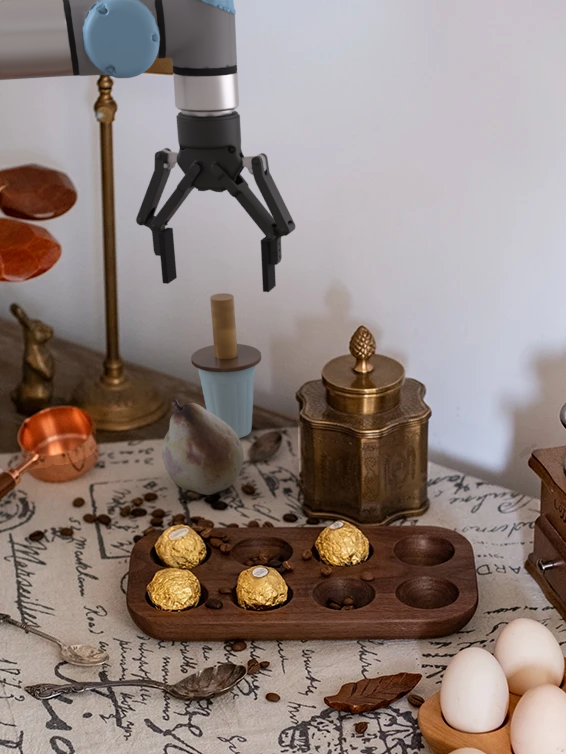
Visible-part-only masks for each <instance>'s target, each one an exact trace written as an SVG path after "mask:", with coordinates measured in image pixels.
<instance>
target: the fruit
mask: <svg viewBox="0 0 566 754" xmlns="http://www.w3.org/2000/svg"><path fill="white" fill-rule="evenodd" d="M171 406H173V407H174V408H175V411H174V412H173V413H172V414H171V417H170V419H169V426H168V427H169V428H168V430H167V432H166V434H165V435H164V439H163V443H162V449H161V455H162V461H163V465H164V468H165V470H166V472H167V474H168V475H169V477H170V480H172V481H173V482H174V483H175V485H177V487H179V488H181V489H182V490H187V491H192V492H195V493H197V494H199V495H204V496H210V495H214V494H216V493H219V492H223V491H225V490H227V489H228V488H230V487H231V486H232V485H233V484H234V483H235V482H236V480H237V479H238V477H239V476H240V473H241V470H242V467H243V465H244V458H245V457H244V456H245V454H244V449H243V448H244V447H243V444H242V441H241V440H240V438H238V436H237V434H236V433H235V431H234V430H233V429H232V428H231V427H230V426H229V425H228V424H226V423H225V422H224V421H223V420H221V419H220V418H218V417H217V416H215V415H214V414H212V413H211V412H209V411H207V409H206V408H205V407H203V406H201V405H200V404H198V403H195V402H187V403H184V404H182V405H180V404H179V402H178V399H176V398H174V399H172V401H171Z"/></svg>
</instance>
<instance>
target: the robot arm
mask: <svg viewBox="0 0 566 754" xmlns="http://www.w3.org/2000/svg"><path fill="white" fill-rule="evenodd" d="M236 29H237V28H236V9H235V3H234V0H0V81H7V80H23V79H25V80H26V79H41V78H42V79H43V78H59V77H77V76H78V77H88V76H90V77H91V76H109V77H113V78H115V79H130V78H135V77H138V76H141V75H142V74H144V73H145V72H146V71H148V70H149V69H150V68H151V66H152V65H153V64H154V63H155V61H156V60H157V59H171V62H172V73H173V74H172V75H173V91H174V105H175V106H174V107H175V108H176V109H177V110H179V111H180V112H178V113H177V115H176V117H175V119H176V131H177V141H178V146H179V150H178V152H176V151H172V150H171V149H170V148H168V147H165V148H163V149H161V150H158V151H156V152H155V153H154V167H153V168H154V170H153V172H152V174H151V178H150V181H149V183H148V185H147V188H146V192H145V194H144V197H143V199H142V202H141V205H140V207H139V210H138V213H137V215H136V218H135V221H136V224H137V225H138V226H144V227H147V228H148V229H150V231H151V236H152V248H153V253H154V255H155V256H156V257H157V256H158V257H160V267H161V279H162V284H165V285H166V284H167V285H168V284H170V283H171V282H173V281H174V280H176V279H177V277H178V276H177V264H176V263H177V262H176V253H175V252H176V251H175V241H174V239H175V238H174V228H173V227H166V226H168V225H169V224H168V223H169V222H170V221H171V219H172V218H173V217H174V215H175V214H176V212H177V211H178V210H179V208H180V207H181V206H182V204H183V203H184V202H185V201H186V199H187V198H188V196H189V195H190V194H191V192H193V190H194V189H196V190H197V191H198V192H207V191H212V192H215V193H224V192H225V191H227V192H228V194H229V195H230V196H231V197H233V198H235V200H236V201H237V202H238V204H239V205H240V206H241V207H242V208H243V210H244V211H245V212H246V214H247V215H248V216H249V217H250V219H251V220H252V221H253V222H254V223H255V224H256V226H257V227H258V228H259V230H260V231H261V232H262V234H263V235H264V237H263V238H262V239H261V240H260V255H261V258H260V259H261V276H262V278H261V279H262V292H263V293H269V292H271V291H272V290H273V289H274V288H275V287H276V286H277V284H276V266H277V265H278V264H279V263H281V261H282V256H283V255H282V237H284V236H285V237H286V236H288V235H290V234H291V233H292V232H294V230H295V229H296V224H295V221H294V219H293V217H292V215H291V213H290V211H289V209H288V207H287V205H286V203H285V200H284V199H283V197H282V195H281V193H280V190H279V188H278V186H277V184H276V182H275V180H274V178H273V176H272V174H271V172H270V165H269V160H268V155H267V153H266V154H265V153H262V152H261V153H259V154H257V155H249V156H245V155H244V153H243V151H242V132H241V131H242V130H241V129H242V128H241V114H240V113H239V112H238V111H236V110H235V109H237V108H238V107H239V106H240V96H239V94H240V93H239V79H238V78H239V76H238V75H239V74H238V59H237V58H238V57H237V33H236V31H237V30H236ZM176 164H177V165H178V167H179V168H180V170H181V171H182V172H183V174H184V176H183V177H182V178H181V179H180V181H179V182H178V183H177V185H176V187H175V189H174V191H173V192H172V193H171V195H170V196H169V197H168V199H167V200H166V202H165V203H164V205H163V206H162V207H161V208H160V210H159V211H158V213H157V214H156V211H157V208H158V206H159V204H160V201H161V198H162V196H163V193H164V190H165V188H166V185H167V182H168V180H169V178H170V175H171V171H172V169H174V168H175V167H176ZM244 168H246V169H247V171H248V173H249V174H250V175H252V176H253V178H254V182H255V184H256V186H257V188H258V190H259V192H260V194H261V196H262V198H263V201H264V202H265V205H266V206H267V208H268V209H267V208H266V207H265V206H264V205H263V203H262V202H261V201H260V200H259V198H258V197H257V196H256V194H255V193H254V192H253V191H252V190H251V188H250V187H249V183H248V182H247V181H246V179H245V178H244V177H243V176H242V174H241V173H242V171H243V170H244ZM268 210H269V211H268ZM155 214H156V215H155Z"/></svg>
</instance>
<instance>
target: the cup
mask: <svg viewBox="0 0 566 754" xmlns="http://www.w3.org/2000/svg"><path fill="white" fill-rule="evenodd" d="M197 370H198V375H199V379H200V385H201V389H202V394H203V399H204V404H205V409H206V410H207V411H209V412H211V413H212V414H214V415H215V416H217V417H218V418H220V419H221V420H223V421H224V422H225V423H226V424H228V425H229V426H230V427H231V428H232V429H233V430H234V431H235V433H236V434H237V436H238V438H239V439H241V438H245V437H247V436H248V435H249V434H251V432H252V427H253V410H254V393H255V392H254V390H255V374H256V373H255V372H256V365H255V366H253V367H251V368H248V369H245V370H241V371H235V372H209V371H204V370H201V369H198V368H197Z"/></svg>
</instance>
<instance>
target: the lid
mask: <svg viewBox="0 0 566 754" xmlns="http://www.w3.org/2000/svg"><path fill="white" fill-rule="evenodd" d="M209 298H210V299H209V300H210V312H211V326H212V339H213V344H212V345H208V346H205V347H201V348H199V349H197V350H196V351H194V352H193V353H192V354H191V356H190V361H191V364H192V366H194V367H195V368H196V369H197V370H198V369H201V370H204V371H209V372H235V371H241V370H245V369H248V368H251V367H253V366H255V367H256V366H257V365H258V364H260V362H261V361H262V352H261V351H260V350H259V349H258V348H256V347H255V346H252V345H248V344H241V343H238V339H237V326H236V325H237V323H236V311H235V310H236V309H235V296H234V295H233V294H231V293H225V292H223V293H222V292H221V293H215V294H212V295H211V296H210V297H209Z"/></svg>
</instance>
